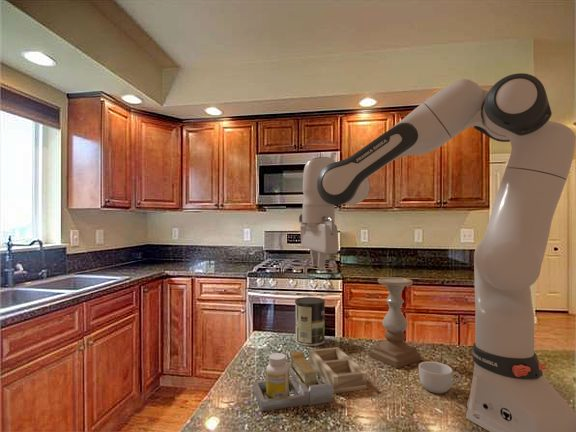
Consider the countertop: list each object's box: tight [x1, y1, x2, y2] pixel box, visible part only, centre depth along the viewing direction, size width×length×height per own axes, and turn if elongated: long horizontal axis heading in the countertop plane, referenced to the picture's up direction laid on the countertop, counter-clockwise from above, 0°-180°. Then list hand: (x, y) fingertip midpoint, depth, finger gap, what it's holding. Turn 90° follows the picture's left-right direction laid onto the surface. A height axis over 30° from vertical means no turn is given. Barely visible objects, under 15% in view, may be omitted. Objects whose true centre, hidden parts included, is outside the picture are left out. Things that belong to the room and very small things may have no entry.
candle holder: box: [369, 276, 422, 369], centre depth 108 cm, size 11×11×24 cm
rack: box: [308, 346, 368, 395], centre depth 96 cm, size 18×9×4 cm, turn 16°
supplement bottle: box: [265, 352, 290, 399], centre depth 84 cm, size 5×5×10 cm
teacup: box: [418, 361, 462, 394], centre depth 88 cm, size 10×8×5 cm
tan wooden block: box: [290, 350, 317, 389], centre depth 94 cm, size 12×3×5 cm, turn 16°
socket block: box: [252, 363, 333, 412], centre depth 90 cm, size 20×17×4 cm
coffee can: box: [294, 296, 326, 347], centre depth 122 cm, size 10×10×14 cm
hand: (318, 267), depth 98 cm, fingers open, 3 cm apart
